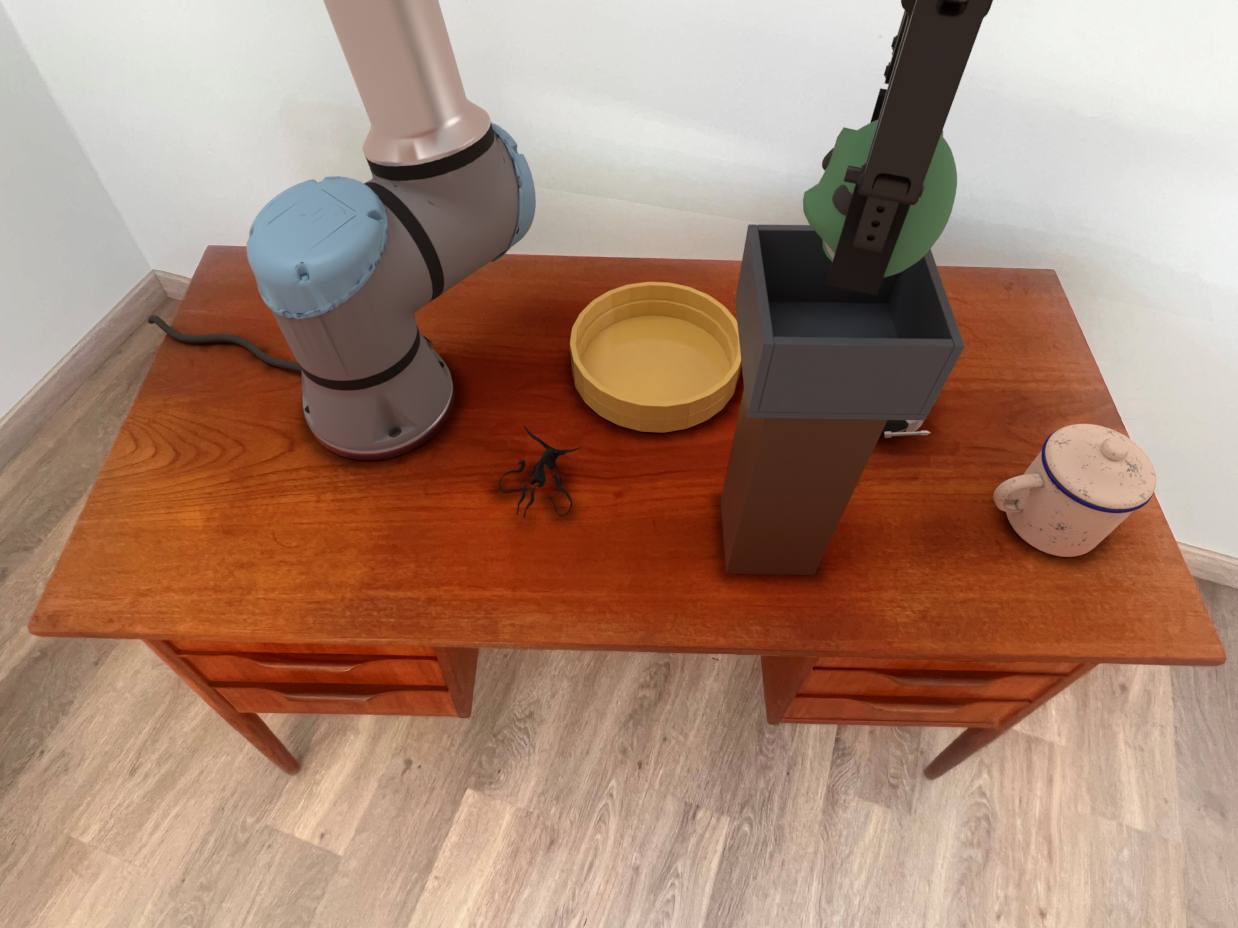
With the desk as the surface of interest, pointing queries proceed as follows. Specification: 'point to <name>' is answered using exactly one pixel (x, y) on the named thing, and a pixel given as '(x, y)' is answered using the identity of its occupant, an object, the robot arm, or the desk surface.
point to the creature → (541, 472)
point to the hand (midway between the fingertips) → (862, 242)
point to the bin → (820, 391)
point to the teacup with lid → (1077, 489)
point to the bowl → (655, 356)
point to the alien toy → (923, 219)
